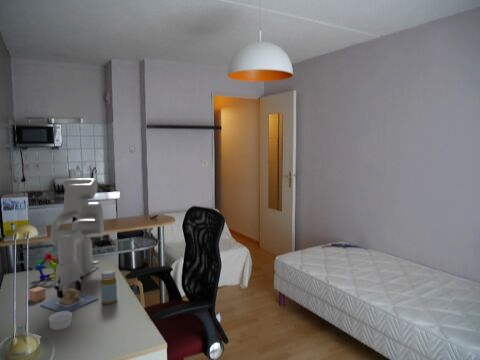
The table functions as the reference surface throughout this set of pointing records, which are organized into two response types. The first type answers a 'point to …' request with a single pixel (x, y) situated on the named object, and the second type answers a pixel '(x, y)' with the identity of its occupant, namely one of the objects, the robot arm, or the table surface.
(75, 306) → the board
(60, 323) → the ramekin
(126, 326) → the table surface
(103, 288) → the bottle
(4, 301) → the table surface
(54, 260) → the educational toy
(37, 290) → the terracotta cube
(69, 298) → the oak block
